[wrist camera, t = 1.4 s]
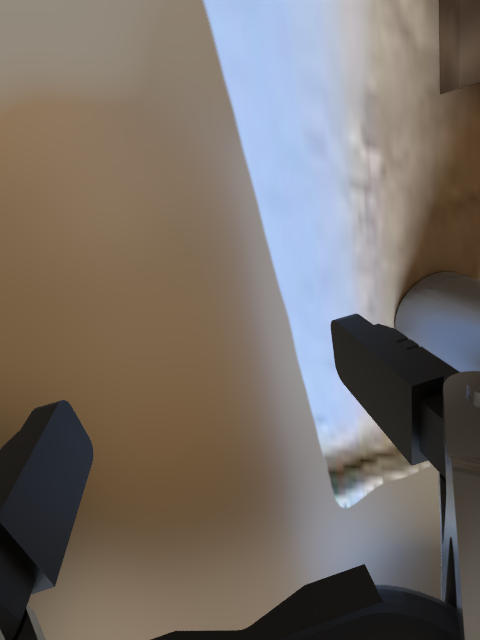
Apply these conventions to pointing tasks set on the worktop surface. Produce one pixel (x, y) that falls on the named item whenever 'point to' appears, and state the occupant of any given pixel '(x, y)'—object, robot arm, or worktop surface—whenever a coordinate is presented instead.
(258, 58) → the worktop surface
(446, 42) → the post
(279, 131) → the worktop surface
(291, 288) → the worktop surface
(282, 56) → the worktop surface
